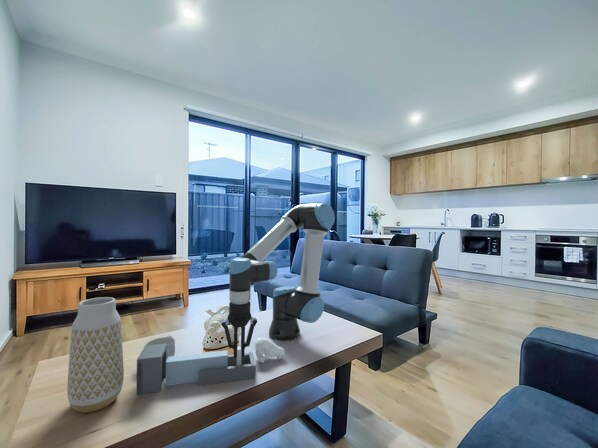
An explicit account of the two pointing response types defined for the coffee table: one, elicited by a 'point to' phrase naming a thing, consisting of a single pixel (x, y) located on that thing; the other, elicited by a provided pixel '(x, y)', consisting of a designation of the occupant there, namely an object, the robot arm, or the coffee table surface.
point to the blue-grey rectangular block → (193, 366)
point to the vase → (95, 356)
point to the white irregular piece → (267, 349)
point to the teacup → (163, 340)
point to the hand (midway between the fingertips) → (238, 365)
